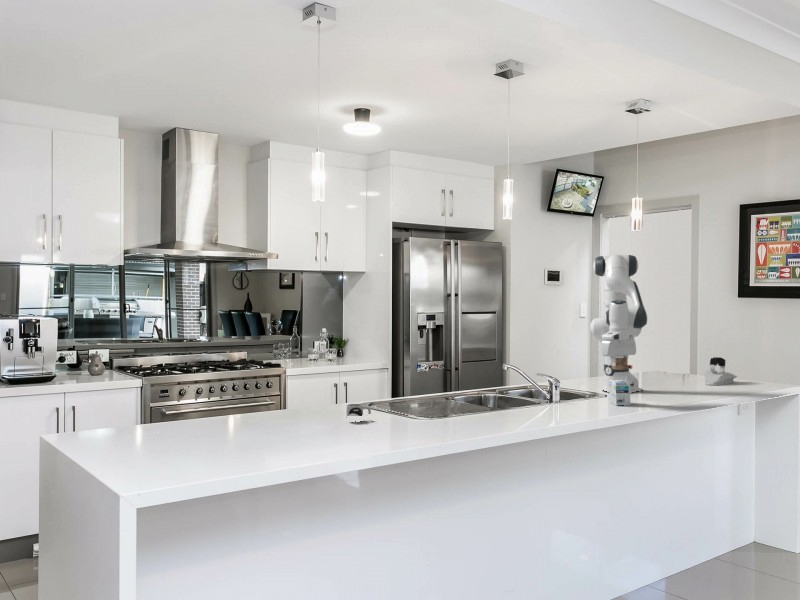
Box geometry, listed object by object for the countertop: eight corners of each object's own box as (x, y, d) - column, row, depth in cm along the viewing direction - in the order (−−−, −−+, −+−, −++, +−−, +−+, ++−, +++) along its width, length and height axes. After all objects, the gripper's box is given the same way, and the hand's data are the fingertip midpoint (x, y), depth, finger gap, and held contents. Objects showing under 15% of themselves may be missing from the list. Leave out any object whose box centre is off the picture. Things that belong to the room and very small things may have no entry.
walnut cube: (618, 368, 322) (618, 357, 322) (627, 369, 318) (627, 358, 318) (611, 369, 319) (611, 358, 319) (620, 369, 315) (620, 358, 315)
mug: (348, 423, 276) (348, 406, 276) (345, 420, 283) (345, 404, 283) (372, 421, 279) (372, 405, 279) (369, 419, 285) (368, 403, 285)
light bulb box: (630, 406, 313) (630, 382, 313) (615, 406, 314) (615, 382, 314) (623, 402, 324) (623, 379, 324) (609, 402, 324) (608, 379, 324)
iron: (737, 382, 397) (737, 356, 397) (721, 386, 380) (720, 359, 380) (718, 381, 405) (718, 355, 405) (701, 384, 388) (700, 358, 388)
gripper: (628, 334, 327) (628, 363, 327) (598, 335, 316) (599, 366, 316) (639, 335, 322) (639, 364, 322) (610, 336, 311) (610, 367, 311)
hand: (619, 365), depth 319 cm, fingers closed on walnut cube, 5 cm apart
